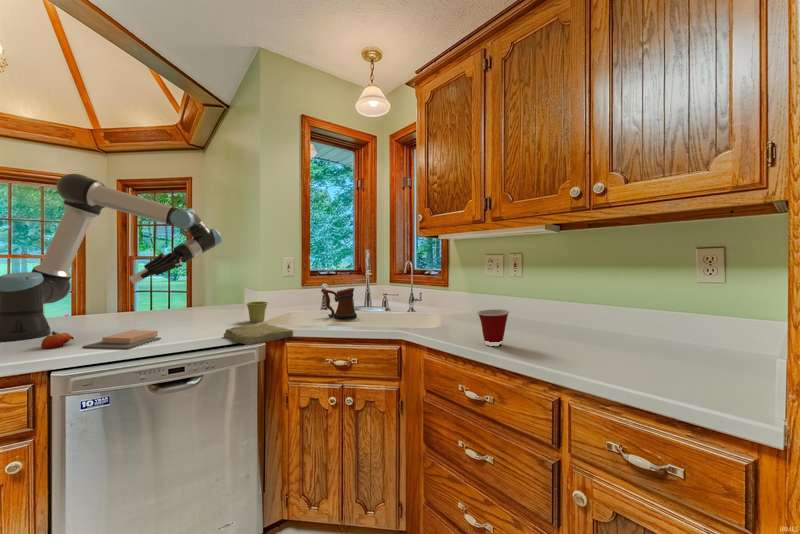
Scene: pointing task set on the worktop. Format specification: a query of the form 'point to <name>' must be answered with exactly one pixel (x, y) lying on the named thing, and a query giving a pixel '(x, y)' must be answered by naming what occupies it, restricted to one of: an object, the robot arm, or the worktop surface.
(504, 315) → the plastic cup
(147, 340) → the charcoal mat
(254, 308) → the plant pot
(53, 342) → the sweet potato
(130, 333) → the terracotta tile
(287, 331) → the folded olive cloth
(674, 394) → the worktop surface
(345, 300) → the mug
